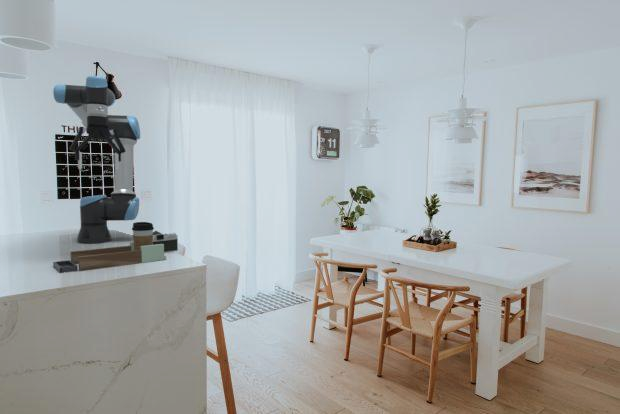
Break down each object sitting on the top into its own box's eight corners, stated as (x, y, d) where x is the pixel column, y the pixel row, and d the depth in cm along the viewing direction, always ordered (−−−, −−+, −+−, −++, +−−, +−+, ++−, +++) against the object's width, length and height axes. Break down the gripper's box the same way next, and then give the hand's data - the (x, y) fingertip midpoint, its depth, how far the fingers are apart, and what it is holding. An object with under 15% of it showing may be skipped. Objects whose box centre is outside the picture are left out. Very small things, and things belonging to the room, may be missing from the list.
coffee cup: (149, 256, 174) (148, 221, 173) (157, 259, 168) (157, 223, 167) (129, 258, 169) (128, 222, 167) (137, 262, 163) (136, 224, 161)
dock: (130, 257, 171) (129, 242, 171) (154, 254, 178) (153, 239, 178) (141, 262, 161) (141, 246, 161) (166, 259, 168) (166, 244, 168)
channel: (71, 264, 157) (70, 251, 156) (130, 257, 171) (130, 245, 171) (79, 270, 147) (79, 257, 146) (141, 262, 161) (141, 250, 161)
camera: (171, 248, 193) (171, 227, 192) (180, 251, 187) (180, 229, 186) (137, 253, 181) (137, 230, 180) (146, 255, 175) (146, 232, 174)
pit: (53, 266, 152) (53, 262, 152) (69, 264, 156) (69, 260, 156) (60, 273, 143) (59, 267, 143) (77, 270, 147) (77, 265, 147)
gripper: (64, 111, 152) (65, 168, 154) (132, 118, 169) (133, 169, 171) (59, 113, 158) (61, 168, 160) (126, 120, 175) (127, 169, 176)
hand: (98, 169), depth 165 cm, fingers open, 13 cm apart
